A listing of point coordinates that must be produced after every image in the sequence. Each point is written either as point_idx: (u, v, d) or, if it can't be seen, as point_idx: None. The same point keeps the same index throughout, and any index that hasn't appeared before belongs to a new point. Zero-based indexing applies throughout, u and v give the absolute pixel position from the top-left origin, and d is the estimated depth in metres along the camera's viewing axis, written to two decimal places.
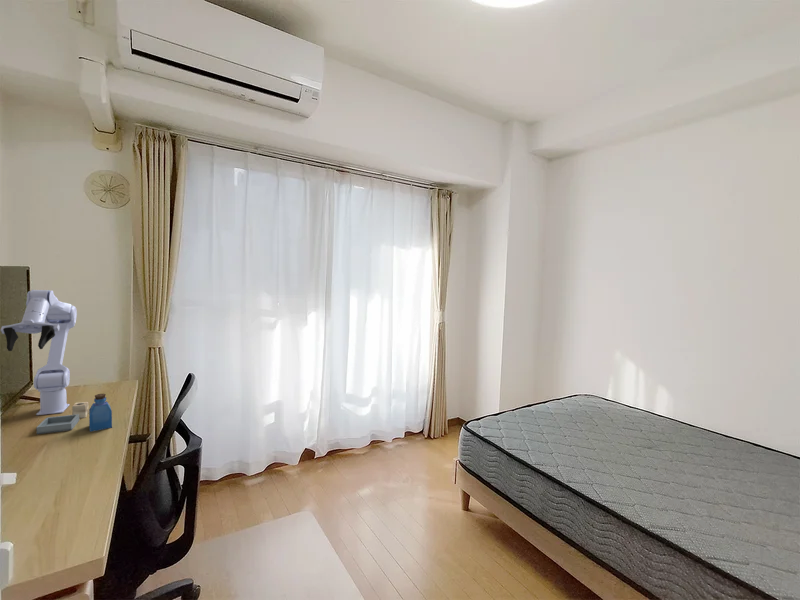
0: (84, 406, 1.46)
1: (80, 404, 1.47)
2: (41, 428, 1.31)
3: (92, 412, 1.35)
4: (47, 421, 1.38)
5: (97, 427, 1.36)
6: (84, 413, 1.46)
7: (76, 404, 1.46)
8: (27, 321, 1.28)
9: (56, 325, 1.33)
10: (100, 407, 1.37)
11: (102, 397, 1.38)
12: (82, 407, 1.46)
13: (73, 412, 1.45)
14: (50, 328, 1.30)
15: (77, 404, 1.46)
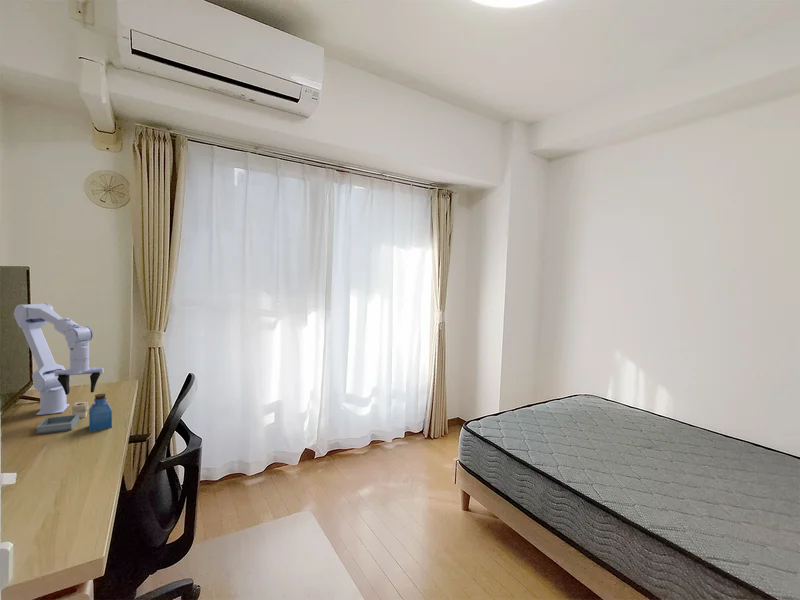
0: (84, 406, 1.46)
1: (80, 404, 1.47)
2: (41, 428, 1.31)
3: (92, 412, 1.35)
4: (47, 421, 1.38)
5: (97, 427, 1.36)
6: (84, 413, 1.46)
7: (76, 404, 1.46)
8: (76, 373, 1.43)
9: (101, 370, 1.48)
10: (100, 407, 1.37)
11: (102, 397, 1.38)
12: (82, 407, 1.46)
13: (73, 412, 1.45)
14: (97, 377, 1.47)
15: (77, 404, 1.46)
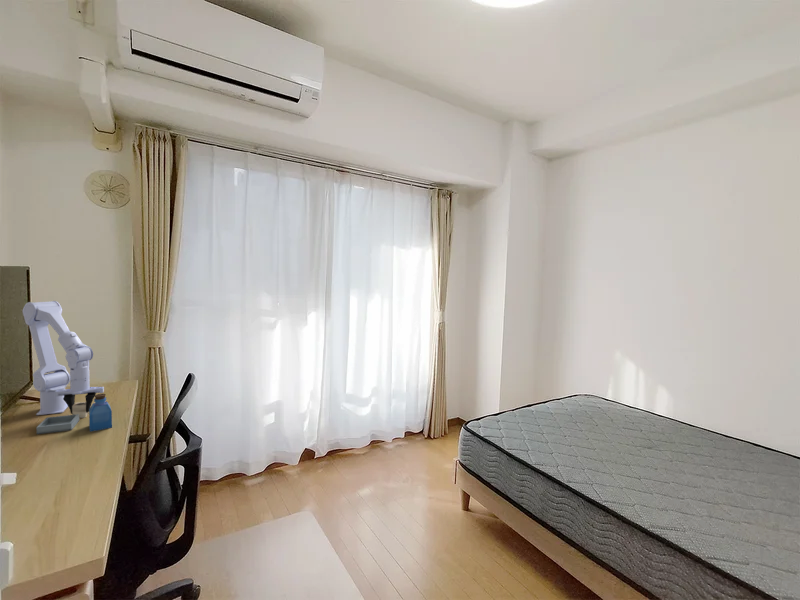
0: (84, 406, 1.46)
1: (80, 404, 1.47)
2: (41, 428, 1.31)
3: (92, 412, 1.35)
4: (47, 421, 1.38)
5: (97, 427, 1.36)
6: (84, 413, 1.46)
7: (76, 404, 1.46)
8: (77, 393, 1.44)
9: (101, 390, 1.49)
10: (100, 407, 1.37)
11: (102, 397, 1.38)
12: (82, 407, 1.46)
13: (73, 412, 1.45)
14: (92, 397, 1.47)
15: (77, 404, 1.46)
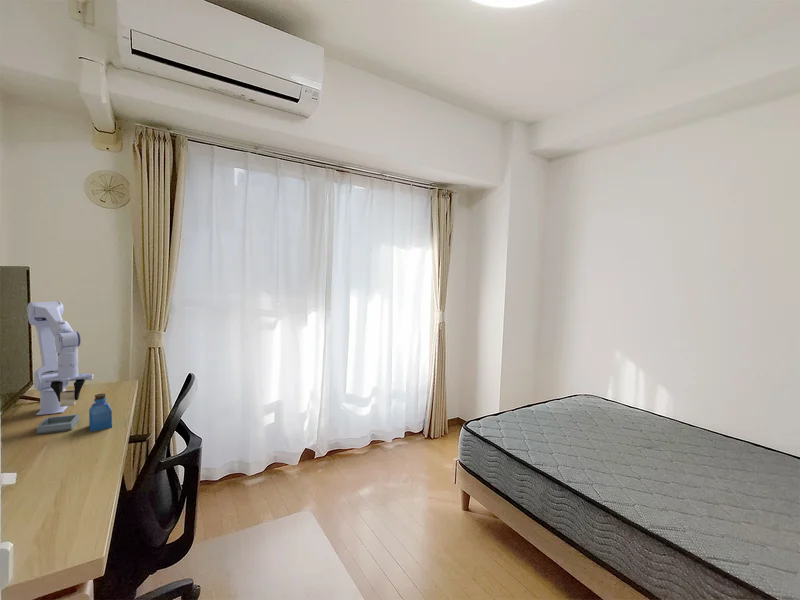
0: (72, 393, 1.40)
1: (68, 391, 1.40)
2: (41, 428, 1.31)
3: (92, 412, 1.35)
4: (47, 421, 1.38)
5: (97, 427, 1.36)
6: (73, 401, 1.40)
7: (64, 391, 1.40)
8: None
9: (91, 377, 1.43)
10: (100, 407, 1.37)
11: (102, 397, 1.38)
12: (70, 394, 1.40)
13: (61, 399, 1.39)
14: (81, 384, 1.41)
15: (65, 391, 1.40)
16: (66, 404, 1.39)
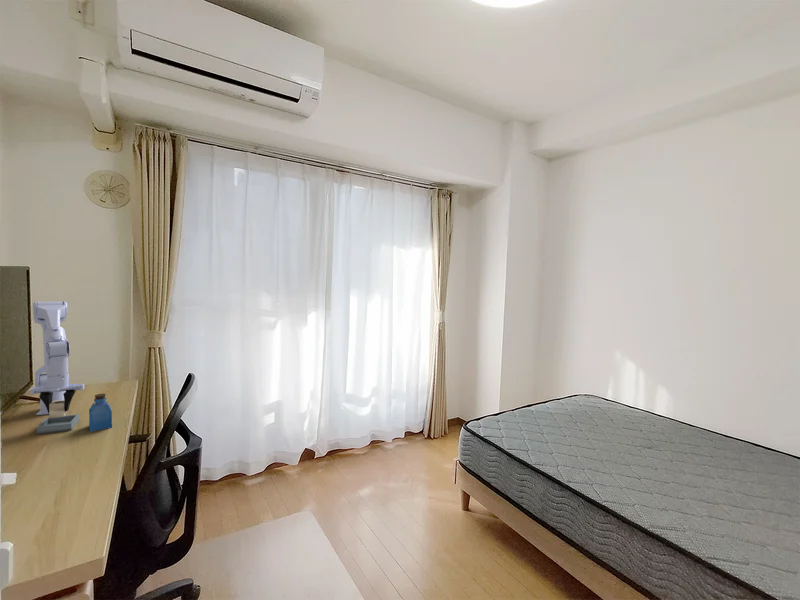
0: (62, 404, 1.36)
1: (58, 402, 1.36)
2: (41, 428, 1.31)
3: (92, 412, 1.35)
4: (47, 421, 1.38)
5: (97, 427, 1.36)
6: (62, 412, 1.36)
7: (54, 402, 1.36)
8: (54, 390, 1.33)
9: (81, 387, 1.38)
10: (100, 407, 1.37)
11: (102, 397, 1.38)
12: (60, 405, 1.35)
13: (50, 411, 1.34)
14: (71, 394, 1.36)
15: (55, 402, 1.36)
16: (55, 415, 1.35)
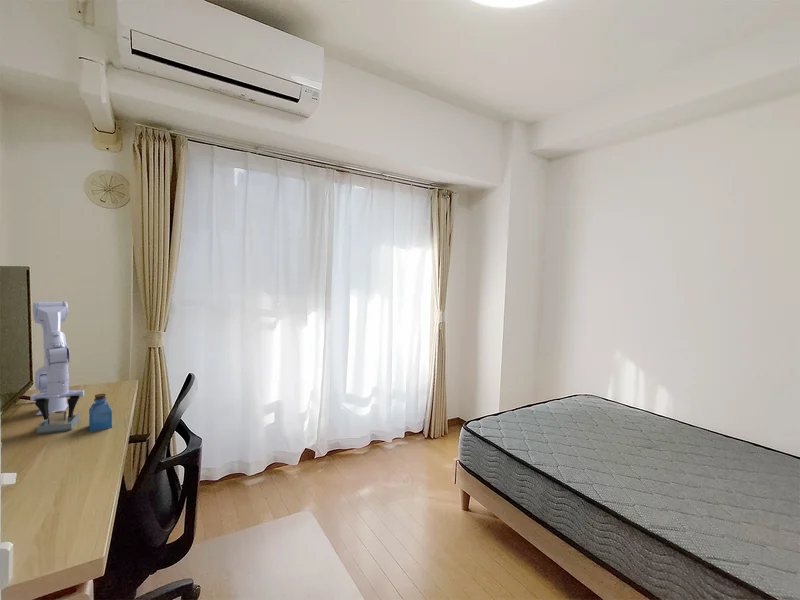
0: (62, 414, 1.36)
1: (58, 412, 1.36)
2: (41, 428, 1.31)
3: (92, 412, 1.35)
4: (47, 421, 1.38)
5: (97, 427, 1.36)
6: (62, 422, 1.36)
7: (54, 412, 1.36)
8: (54, 397, 1.33)
9: (81, 393, 1.39)
10: (100, 407, 1.37)
11: (102, 397, 1.38)
12: (60, 415, 1.36)
13: (50, 421, 1.35)
14: (75, 400, 1.37)
15: (55, 412, 1.36)
16: None
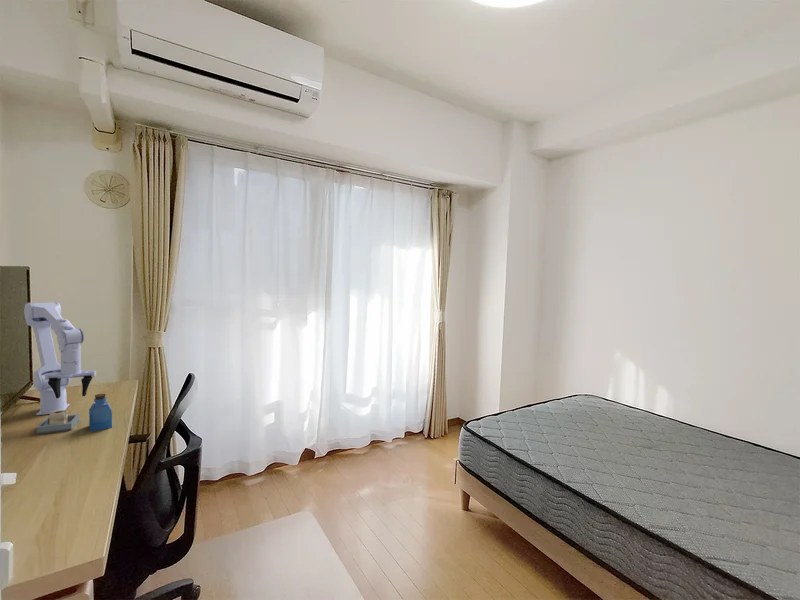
0: (62, 414, 1.36)
1: (58, 412, 1.36)
2: (41, 428, 1.31)
3: (92, 412, 1.35)
4: (47, 421, 1.38)
5: (97, 427, 1.36)
6: (62, 422, 1.36)
7: (54, 412, 1.36)
8: (67, 376, 1.39)
9: (93, 374, 1.44)
10: (100, 407, 1.37)
11: (102, 397, 1.38)
12: (60, 415, 1.36)
13: (50, 421, 1.35)
14: (89, 380, 1.43)
15: (55, 412, 1.36)
16: None
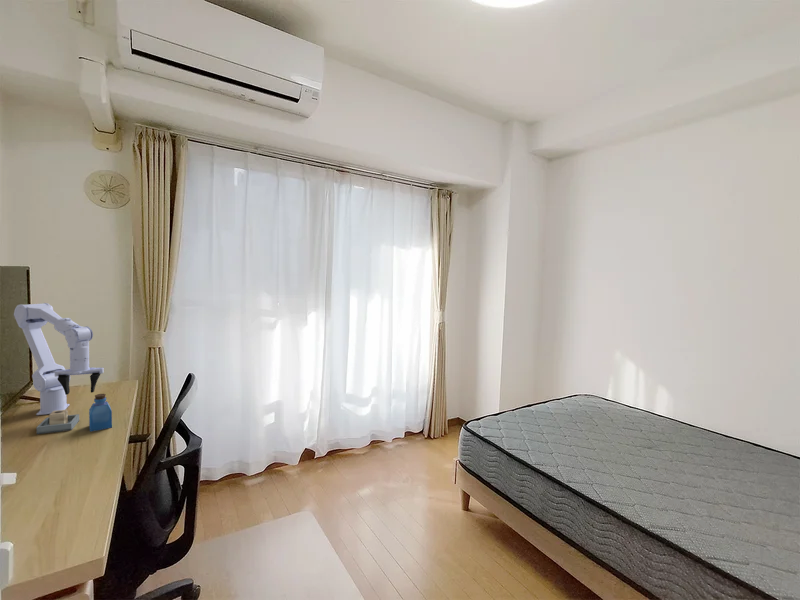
0: (62, 414, 1.36)
1: (58, 412, 1.36)
2: (41, 428, 1.31)
3: (92, 412, 1.35)
4: (47, 421, 1.38)
5: (97, 427, 1.36)
6: (62, 422, 1.36)
7: (54, 412, 1.36)
8: (76, 373, 1.43)
9: (101, 370, 1.48)
10: (100, 407, 1.37)
11: (102, 397, 1.38)
12: (60, 415, 1.36)
13: (50, 421, 1.35)
14: (97, 377, 1.47)
15: (55, 412, 1.36)
16: None
